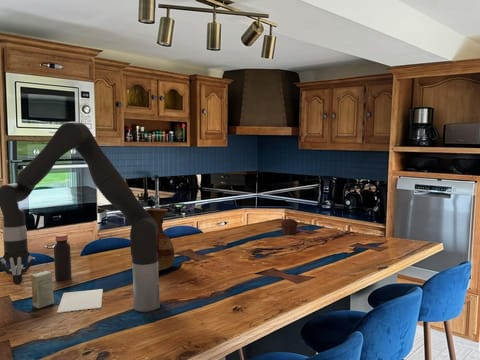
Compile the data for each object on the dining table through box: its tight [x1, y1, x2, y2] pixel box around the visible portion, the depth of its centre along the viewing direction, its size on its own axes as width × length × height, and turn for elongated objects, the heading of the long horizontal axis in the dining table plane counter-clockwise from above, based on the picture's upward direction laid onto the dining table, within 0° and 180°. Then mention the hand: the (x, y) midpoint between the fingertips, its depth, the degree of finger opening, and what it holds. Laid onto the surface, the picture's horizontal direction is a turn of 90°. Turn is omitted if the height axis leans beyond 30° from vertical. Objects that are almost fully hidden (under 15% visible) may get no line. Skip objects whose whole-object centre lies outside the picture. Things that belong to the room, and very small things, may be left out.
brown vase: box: [144, 207, 175, 272], centre depth 196 cm, size 20×20×30 cm
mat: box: [56, 288, 104, 314], centre depth 158 cm, size 15×20×1 cm
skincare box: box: [30, 270, 55, 309], centre depth 153 cm, size 6×4×12 cm
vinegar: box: [53, 233, 72, 282], centre depth 183 cm, size 7×7×20 cm
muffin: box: [280, 218, 299, 236], centre depth 274 cm, size 12×11×10 cm
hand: (18, 284), depth 151 cm, fingers closed
